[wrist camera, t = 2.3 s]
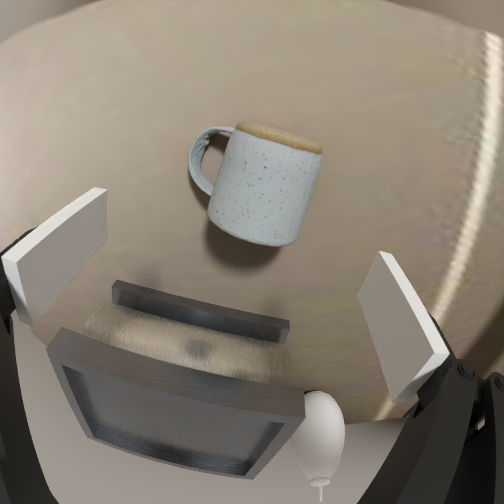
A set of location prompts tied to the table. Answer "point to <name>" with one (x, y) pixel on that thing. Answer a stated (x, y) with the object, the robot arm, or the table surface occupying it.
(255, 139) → the ceramic mug
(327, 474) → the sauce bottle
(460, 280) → the table surface
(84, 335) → the grey piece
